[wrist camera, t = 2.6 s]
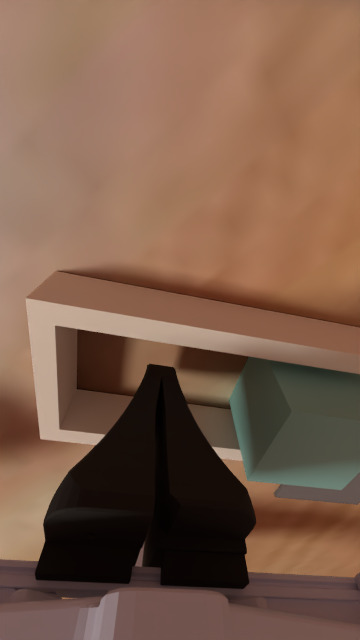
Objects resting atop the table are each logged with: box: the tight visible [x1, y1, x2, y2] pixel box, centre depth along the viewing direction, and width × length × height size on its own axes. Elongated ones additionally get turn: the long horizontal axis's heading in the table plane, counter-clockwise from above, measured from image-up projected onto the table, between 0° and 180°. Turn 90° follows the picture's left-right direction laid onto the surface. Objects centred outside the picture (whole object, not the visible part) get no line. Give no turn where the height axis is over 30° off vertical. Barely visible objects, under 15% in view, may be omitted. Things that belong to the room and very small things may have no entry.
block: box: [229, 357, 360, 490], centre depth 14 cm, size 5×5×5 cm
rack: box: [26, 271, 360, 461], centre depth 14 cm, size 8×17×3 cm, turn 78°
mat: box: [274, 472, 360, 505], centre depth 21 cm, size 8×8×1 cm
